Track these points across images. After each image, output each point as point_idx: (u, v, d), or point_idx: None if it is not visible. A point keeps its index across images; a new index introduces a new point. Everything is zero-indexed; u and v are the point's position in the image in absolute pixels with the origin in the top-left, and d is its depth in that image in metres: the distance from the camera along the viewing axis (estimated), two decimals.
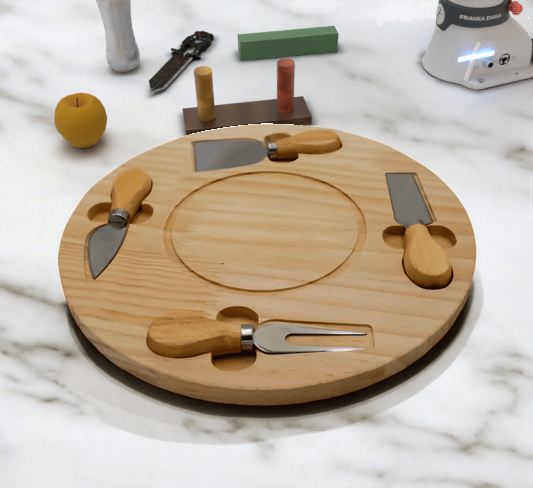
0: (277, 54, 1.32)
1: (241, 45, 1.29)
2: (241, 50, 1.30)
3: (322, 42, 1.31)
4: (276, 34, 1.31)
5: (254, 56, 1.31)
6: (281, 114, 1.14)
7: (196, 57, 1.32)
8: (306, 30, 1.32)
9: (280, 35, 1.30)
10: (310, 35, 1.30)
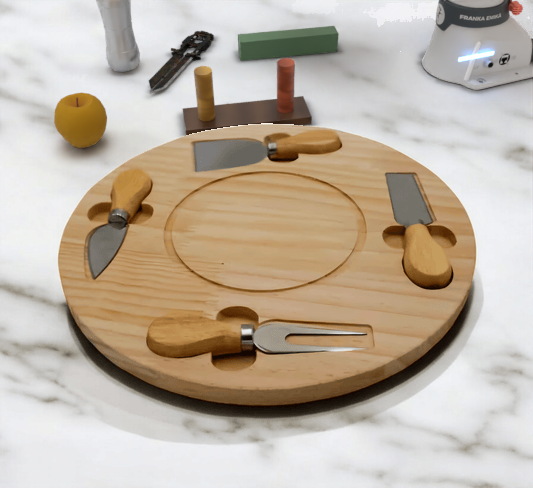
0: (277, 54, 1.32)
1: (241, 45, 1.29)
2: (241, 50, 1.30)
3: (322, 42, 1.31)
4: (276, 34, 1.31)
5: (254, 56, 1.31)
6: (281, 114, 1.14)
7: (196, 57, 1.32)
8: (306, 30, 1.32)
9: (280, 35, 1.30)
10: (310, 35, 1.30)
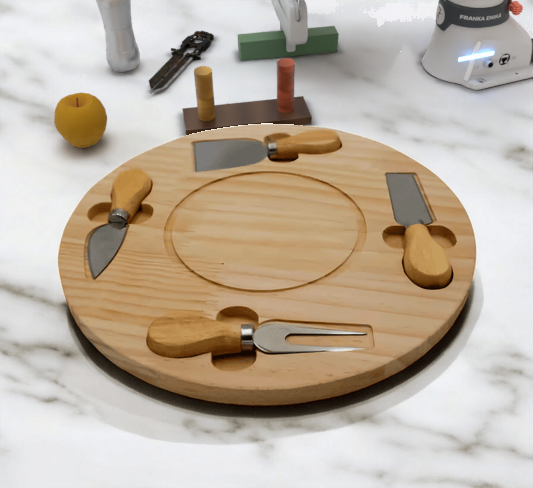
0: (277, 55, 1.32)
1: (241, 45, 1.29)
2: (241, 50, 1.30)
3: (322, 42, 1.31)
4: (276, 34, 1.31)
5: (254, 56, 1.31)
6: (281, 114, 1.14)
7: (196, 57, 1.32)
8: None
9: (280, 35, 1.30)
10: (310, 35, 1.30)
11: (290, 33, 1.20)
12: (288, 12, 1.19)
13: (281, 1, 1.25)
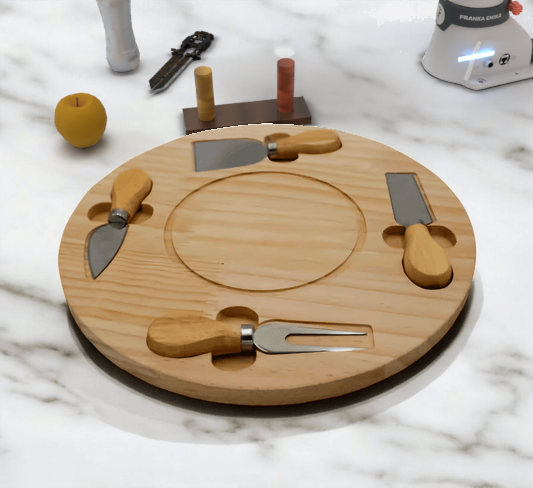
0: None
1: None
2: None
3: None
4: None
5: None
6: (281, 114, 1.14)
7: (196, 57, 1.32)
8: None
9: None
10: None
11: None
12: None
13: None
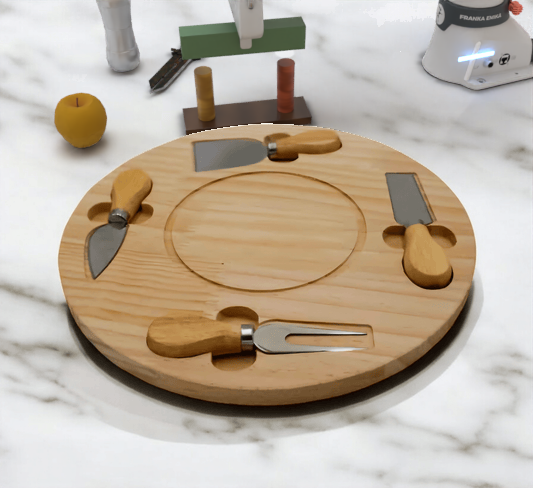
0: (228, 52, 1.04)
1: (182, 40, 1.02)
2: (182, 46, 1.02)
3: (285, 36, 1.04)
4: (227, 26, 1.03)
5: (199, 54, 1.04)
6: (281, 114, 1.14)
7: None
8: (265, 22, 1.05)
9: (232, 28, 1.03)
10: (270, 27, 1.03)
11: (240, 24, 0.93)
12: None
13: None
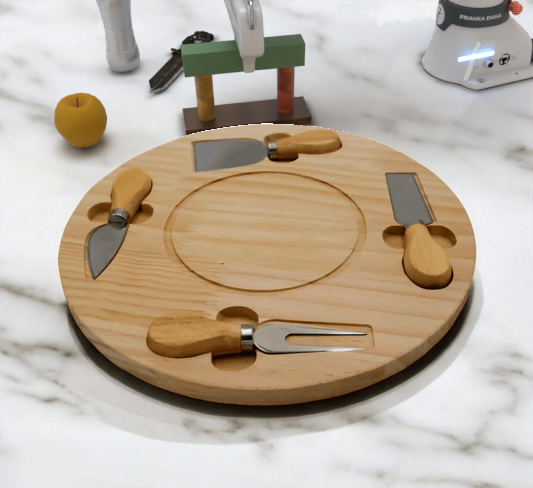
0: (229, 70, 1.07)
1: (184, 58, 1.04)
2: (184, 64, 1.05)
3: (285, 54, 1.06)
4: (228, 44, 1.06)
5: (201, 72, 1.06)
6: (281, 114, 1.14)
7: None
8: (266, 39, 1.07)
9: (233, 46, 1.05)
10: (270, 45, 1.05)
11: (242, 44, 0.95)
12: (238, 17, 0.94)
13: None
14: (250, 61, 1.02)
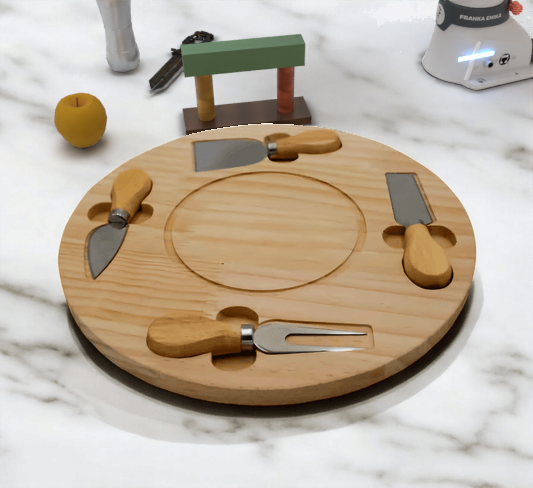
0: (229, 70, 1.07)
1: (184, 58, 1.04)
2: (184, 64, 1.05)
3: (285, 54, 1.06)
4: (228, 44, 1.06)
5: (201, 72, 1.06)
6: (281, 114, 1.14)
7: None
8: (266, 39, 1.07)
9: (233, 46, 1.05)
10: (270, 45, 1.05)
11: None
12: None
13: None
14: None
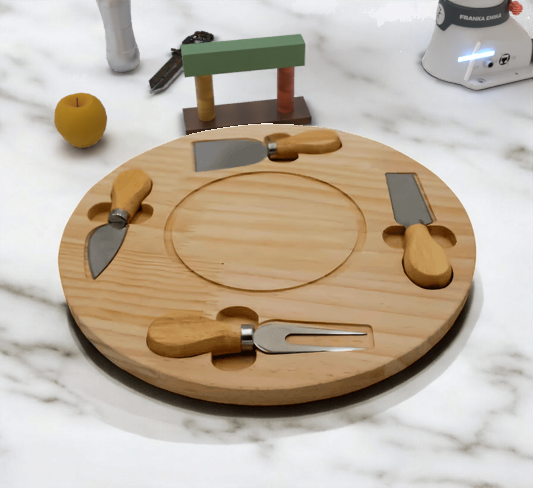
0: (229, 70, 1.07)
1: (184, 58, 1.04)
2: (184, 64, 1.05)
3: (285, 54, 1.06)
4: (228, 44, 1.06)
5: (201, 72, 1.06)
6: (281, 114, 1.14)
7: None
8: (266, 39, 1.07)
9: (233, 46, 1.05)
10: (270, 45, 1.05)
11: None
12: None
13: None
14: None
